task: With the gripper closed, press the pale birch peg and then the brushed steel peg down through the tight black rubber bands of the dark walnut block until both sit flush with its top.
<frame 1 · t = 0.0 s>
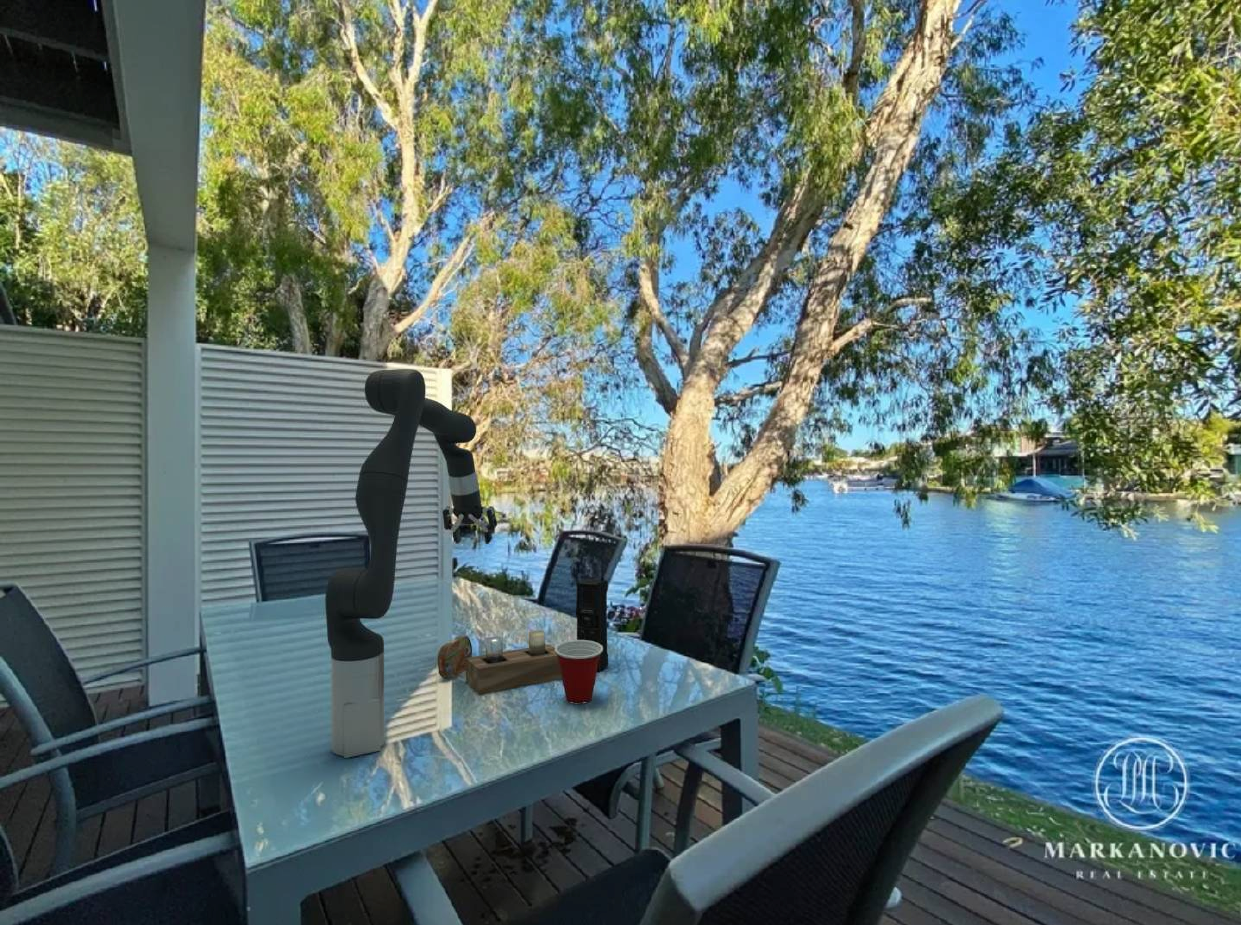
hand: (473, 542, 177), 31 cm above the table, tool tilted 20°, fingers open, 8 cm apart
birch peg: (536, 643, 160), point 8 cm above the table, slide at 5.0 cm
portable radio: (590, 668, 167), on the table
collar block: (516, 680, 157), on the table
steel peg: (494, 650, 155), point 8 cm above the table, slide at 5.0 cm
tin: (455, 673, 164), on the table
plastic cup: (579, 700, 144), on the table
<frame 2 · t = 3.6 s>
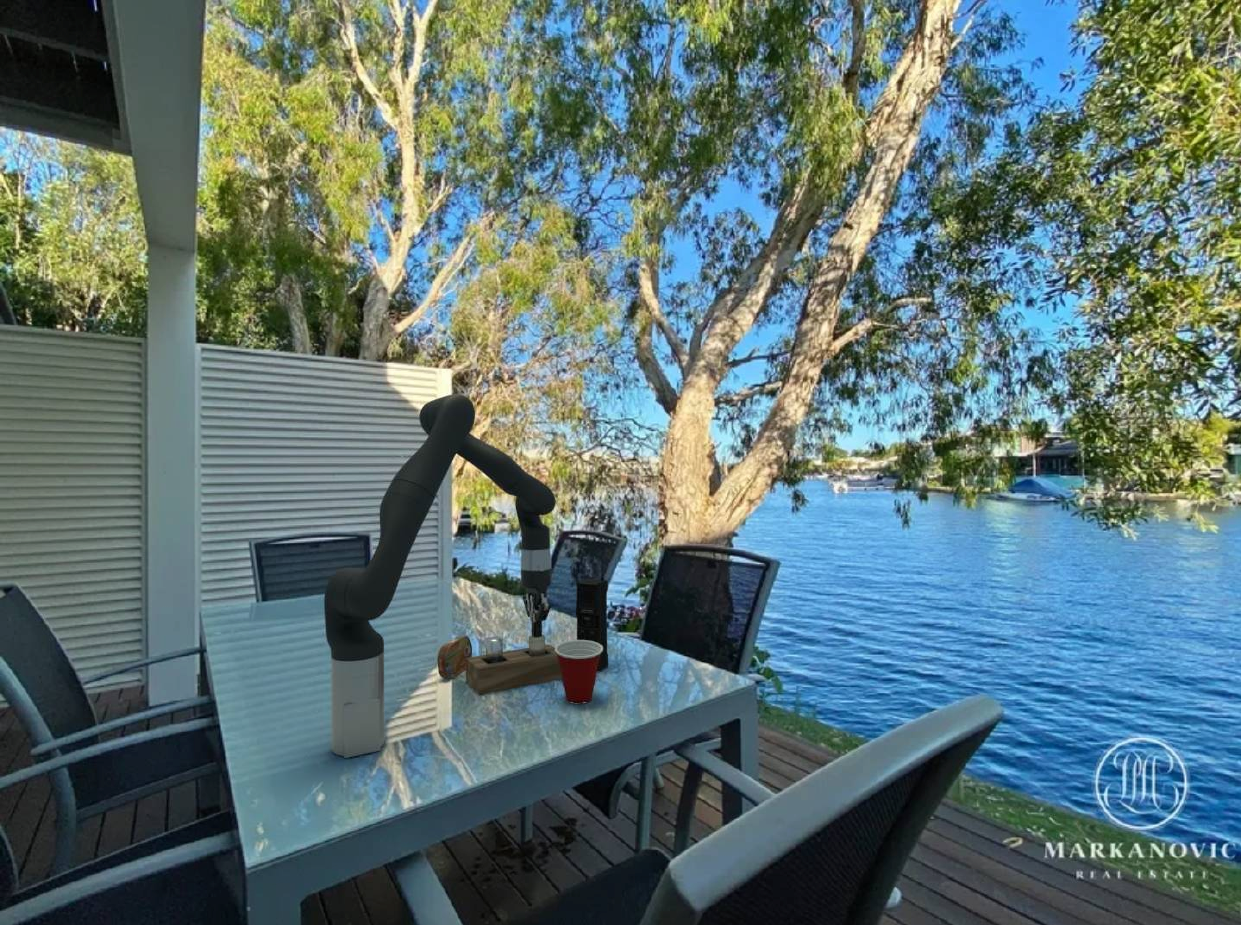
hand: (536, 636, 160), 10 cm above the table, tool pointing down, fingers closed
birch peg: (537, 647, 160), point 7 cm above the table, slide at 3.9 cm, touching gripper
everything else where it was.
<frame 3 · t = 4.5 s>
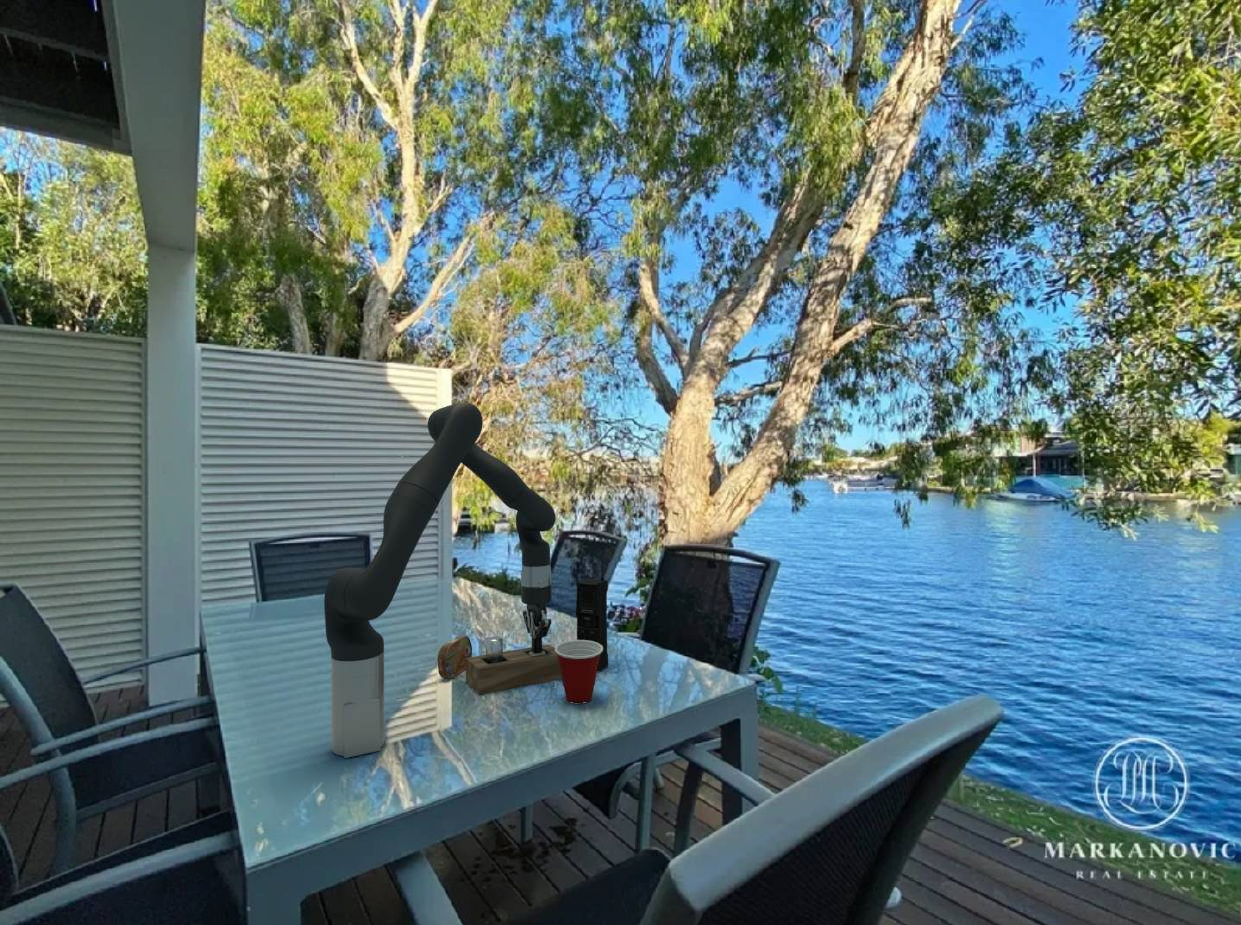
hand: (537, 652, 160), 6 cm above the table, tool pointing down, fingers closed
birch peg: (537, 663, 160), point 3 cm above the table, slide at -0.1 cm, touching gripper
everything else where it was.
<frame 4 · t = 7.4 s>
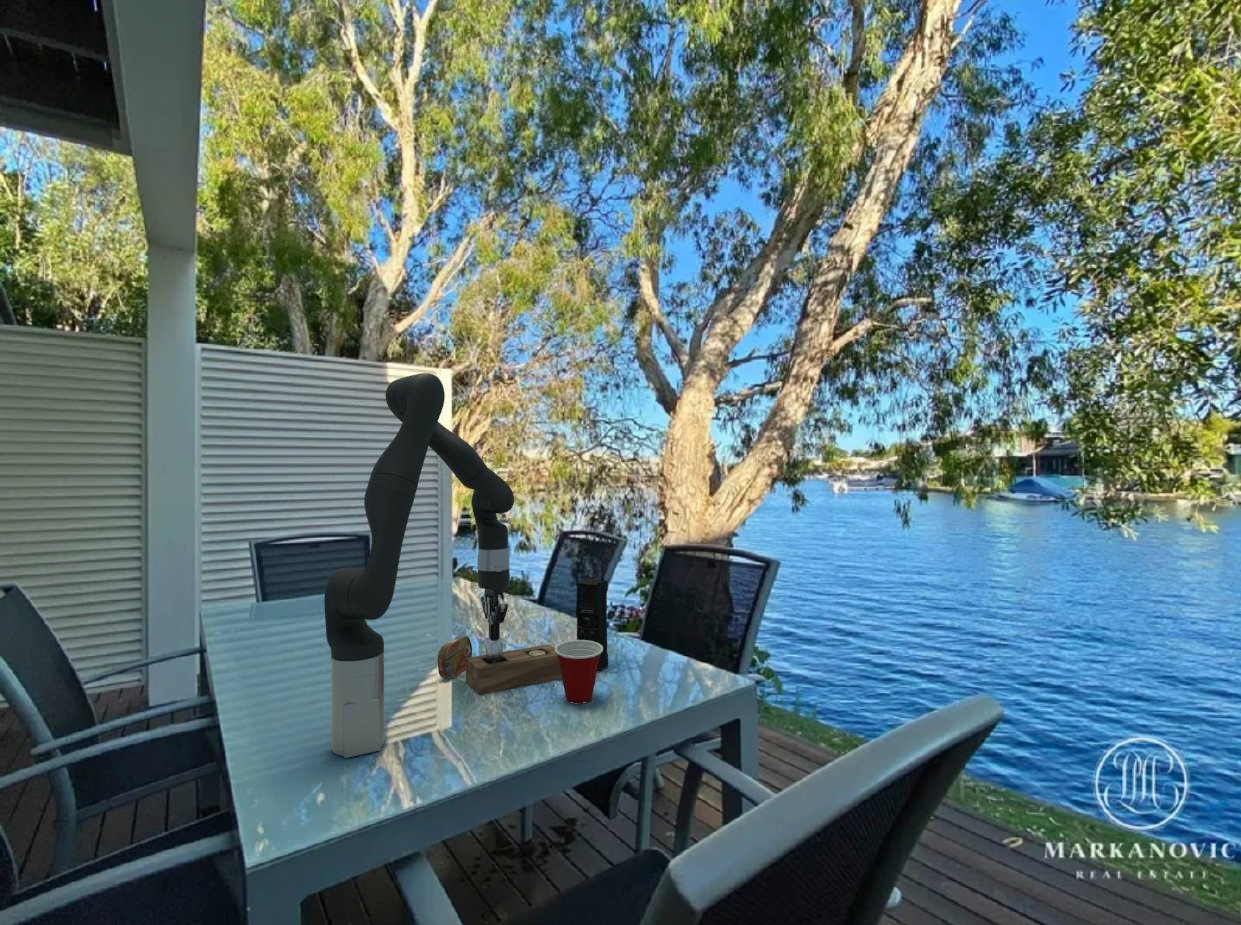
hand: (494, 639, 155), 11 cm above the table, tool pointing down, fingers closed
birch peg: (537, 663, 160), point 3 cm above the table, slide at -0.1 cm
steel peg: (494, 650, 155), point 8 cm above the table, slide at 4.8 cm, touching gripper
everything else where it was.
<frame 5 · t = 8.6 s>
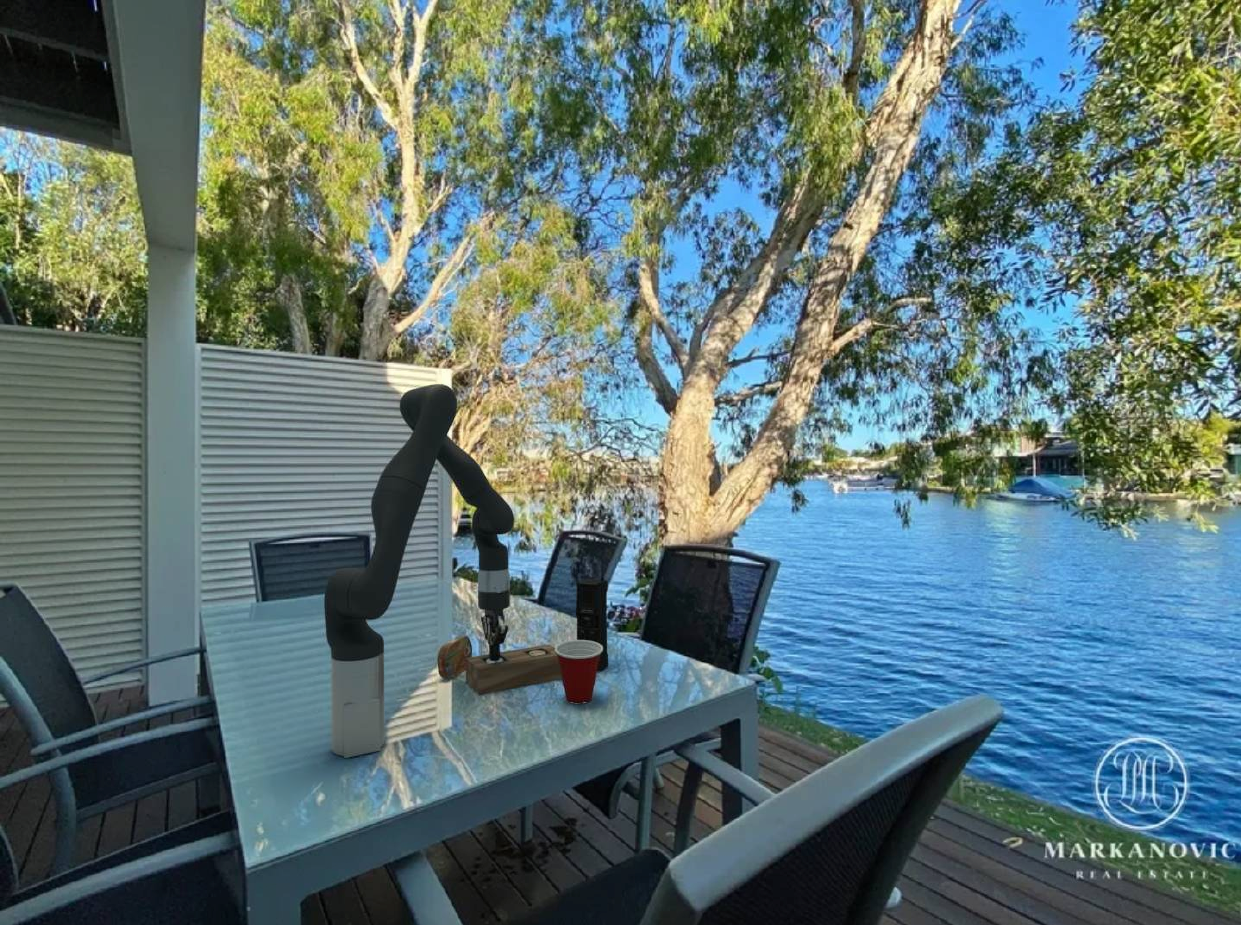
hand: (494, 659, 155), 6 cm above the table, tool pointing down, fingers closed
steel peg: (494, 671, 155), point 3 cm above the table, slide at -0.1 cm, touching gripper
everything else where it was.
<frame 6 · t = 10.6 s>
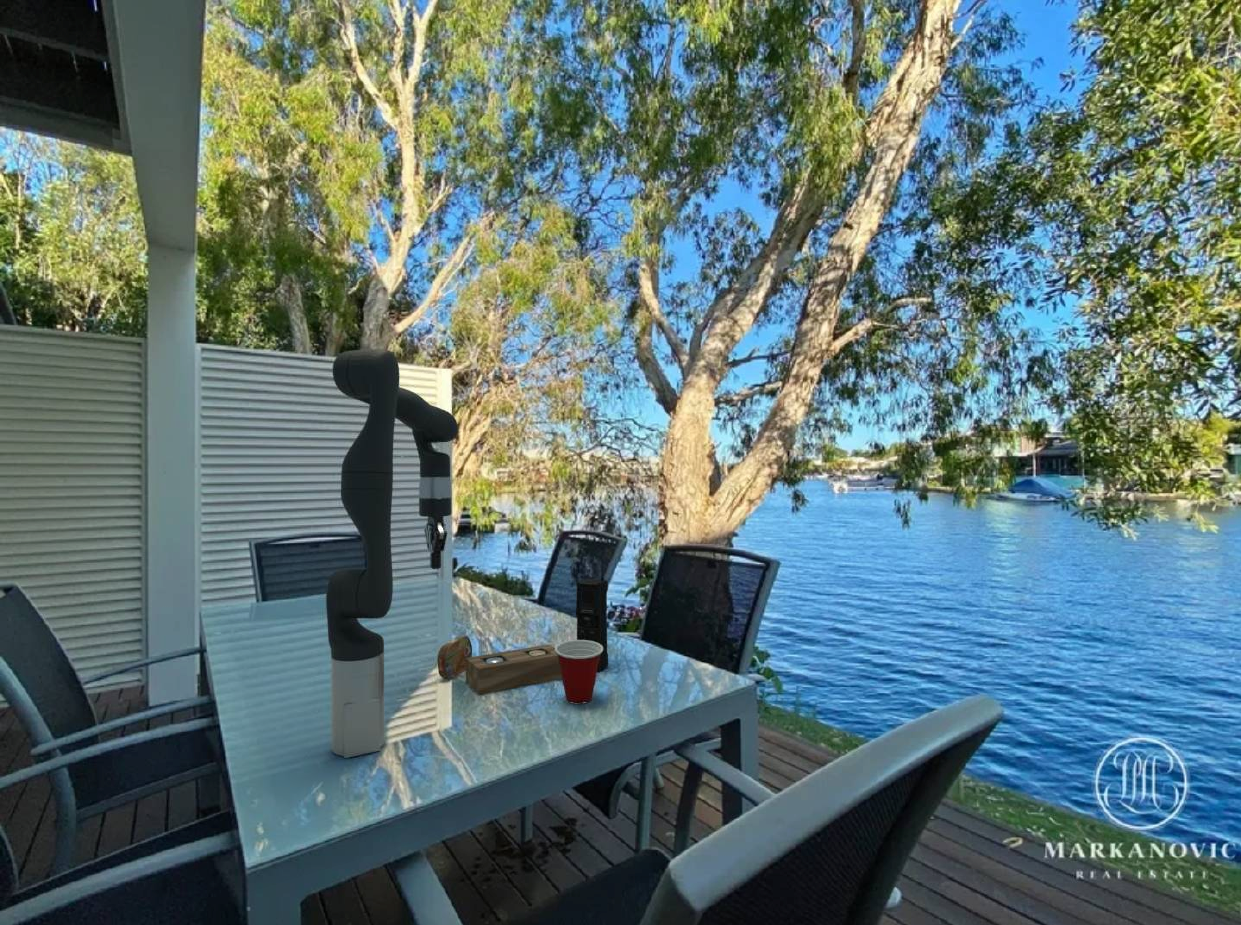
hand: (435, 568, 155), 28 cm above the table, tool pointing down, fingers closed
steel peg: (494, 671, 155), point 3 cm above the table, slide at -0.1 cm
everything else where it was.
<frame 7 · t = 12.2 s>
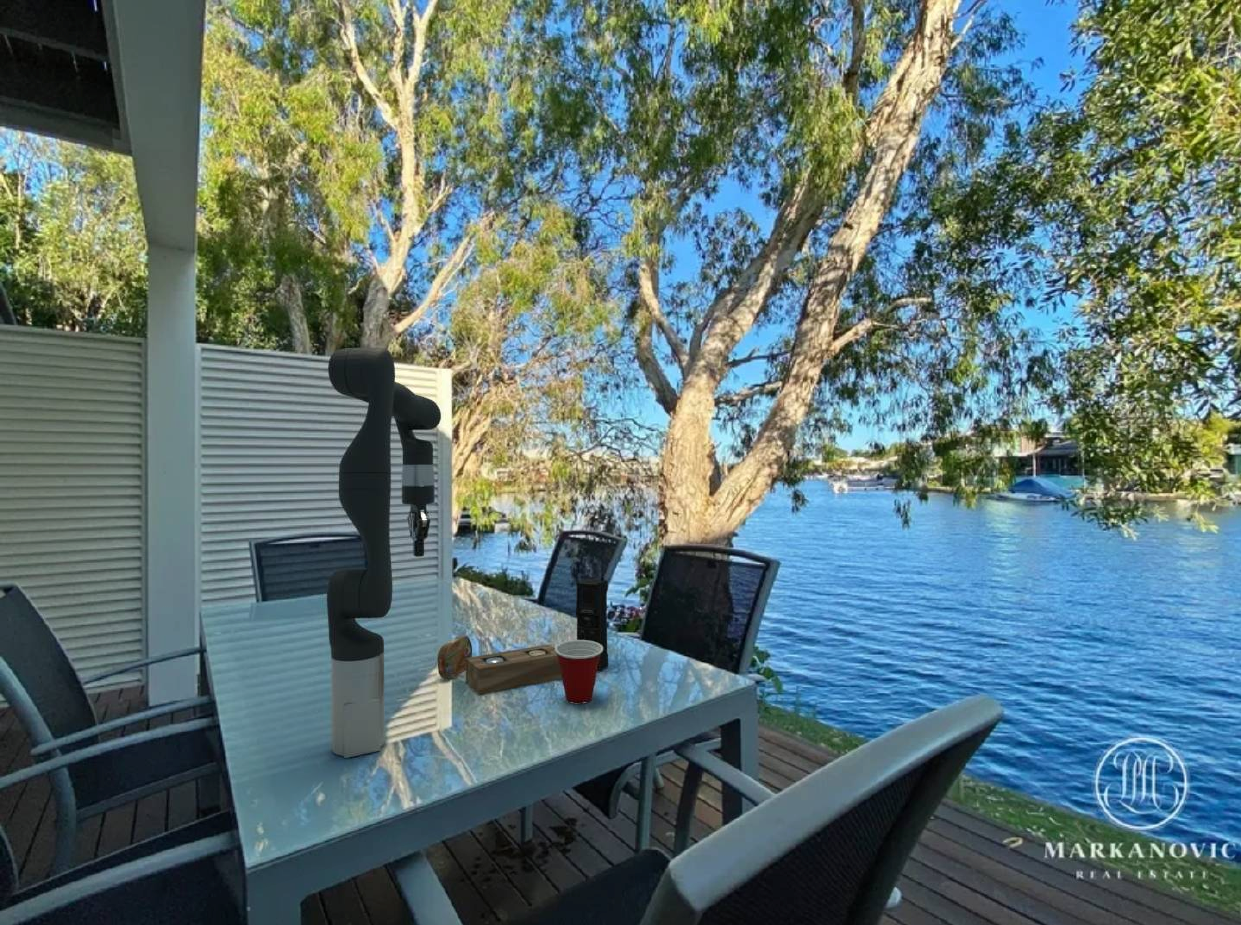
hand: (418, 556, 155), 31 cm above the table, tool pointing down, fingers closed
nothing on the table moved.
at the end: birch peg slide at -0.1 cm; steel peg slide at -0.1 cm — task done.
